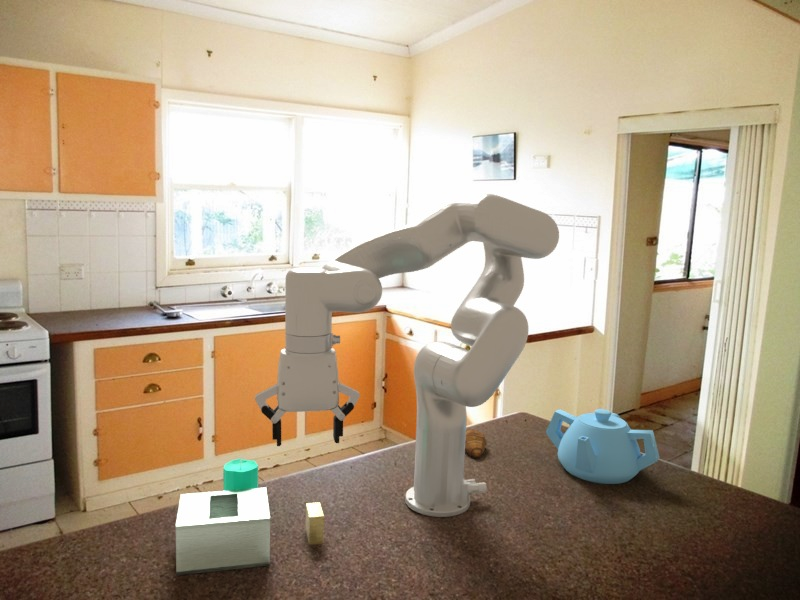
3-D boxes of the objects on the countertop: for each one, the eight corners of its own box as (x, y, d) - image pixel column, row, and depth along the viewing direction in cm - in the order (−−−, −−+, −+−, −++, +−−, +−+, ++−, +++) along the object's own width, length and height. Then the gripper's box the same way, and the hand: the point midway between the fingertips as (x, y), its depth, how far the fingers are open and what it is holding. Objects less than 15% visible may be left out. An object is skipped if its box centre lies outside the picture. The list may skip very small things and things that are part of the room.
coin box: (265, 530, 112) (266, 487, 111) (269, 565, 101) (270, 518, 100) (181, 538, 108) (180, 494, 107) (176, 575, 98) (175, 526, 97)
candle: (249, 530, 112) (249, 465, 110) (217, 526, 113) (217, 461, 111) (263, 514, 117) (263, 452, 116) (233, 510, 119) (232, 448, 117)
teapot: (544, 453, 151) (549, 397, 149) (621, 453, 154) (627, 397, 152) (575, 490, 133) (581, 426, 130) (662, 489, 135) (670, 426, 133)
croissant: (492, 461, 147) (493, 440, 146) (463, 460, 146) (464, 440, 145) (480, 439, 160) (481, 420, 159) (453, 439, 159) (454, 419, 159)
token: (319, 528, 113) (319, 502, 113) (323, 543, 109) (323, 515, 108) (305, 530, 113) (306, 503, 112) (309, 544, 108) (309, 517, 107)
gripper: (357, 337, 111) (355, 431, 114) (255, 338, 107) (255, 436, 110) (363, 347, 104) (361, 447, 106) (254, 349, 100) (255, 453, 103)
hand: (307, 441), depth 108 cm, fingers open, 9 cm apart
